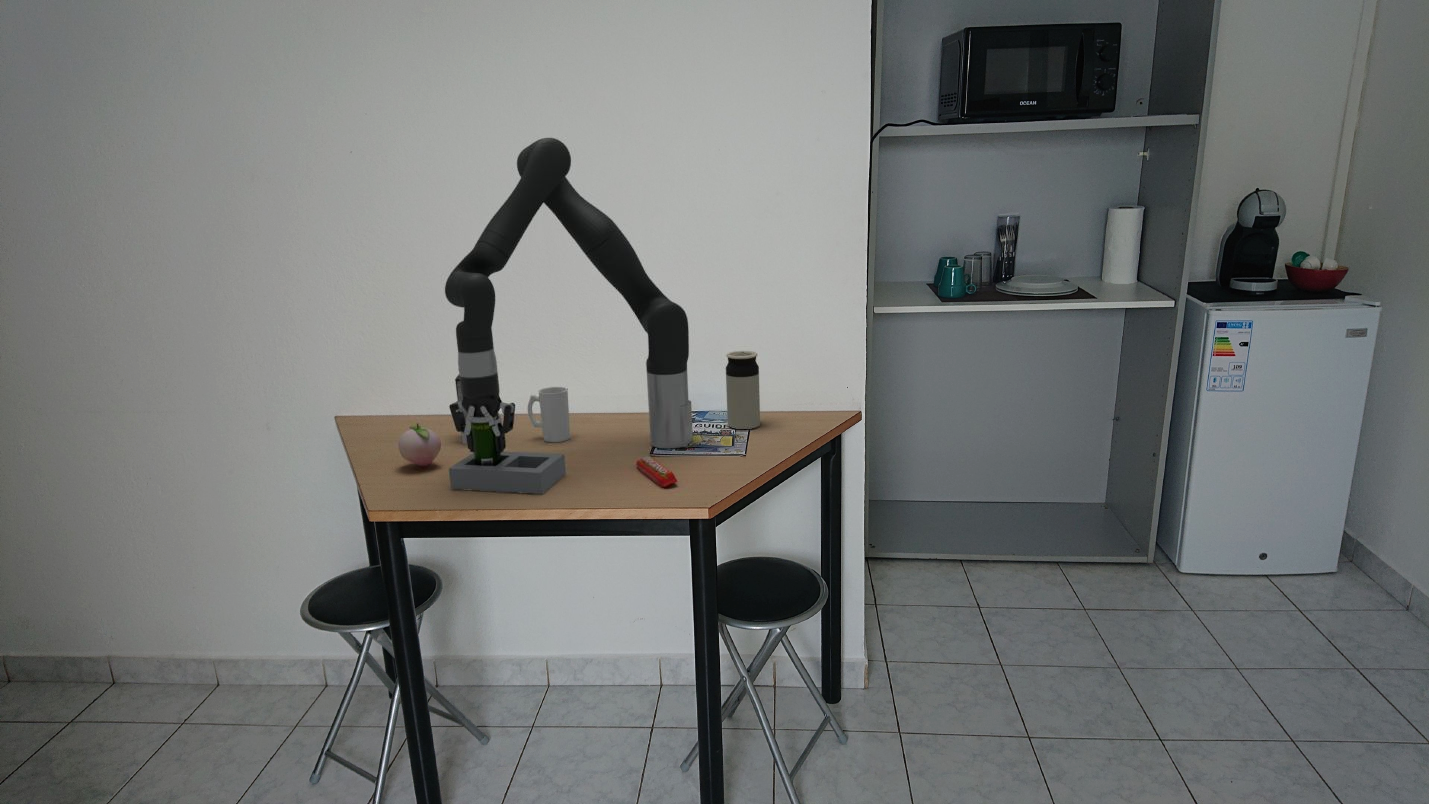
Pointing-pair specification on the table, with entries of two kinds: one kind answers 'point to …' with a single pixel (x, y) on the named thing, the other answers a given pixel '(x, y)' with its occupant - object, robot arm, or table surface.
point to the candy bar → (656, 471)
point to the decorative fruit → (419, 445)
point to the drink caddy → (510, 473)
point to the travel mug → (742, 390)
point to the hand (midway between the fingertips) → (487, 451)
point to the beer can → (484, 442)
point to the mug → (552, 413)
